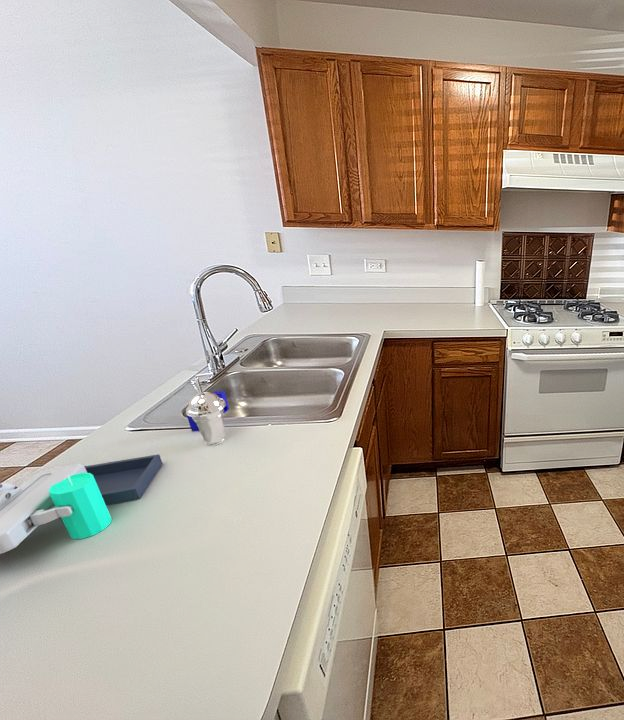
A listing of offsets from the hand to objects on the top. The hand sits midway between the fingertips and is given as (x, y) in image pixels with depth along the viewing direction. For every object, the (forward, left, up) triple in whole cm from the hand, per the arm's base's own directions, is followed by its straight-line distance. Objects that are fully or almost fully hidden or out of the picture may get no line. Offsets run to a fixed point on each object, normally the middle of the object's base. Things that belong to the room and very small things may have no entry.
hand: (83, 497), depth 74 cm
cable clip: (+9, +38, -7) cm, 40 cm away
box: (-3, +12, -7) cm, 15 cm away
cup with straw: (+14, +25, -7) cm, 30 cm away
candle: (-1, 0, -7) cm, 7 cm away
